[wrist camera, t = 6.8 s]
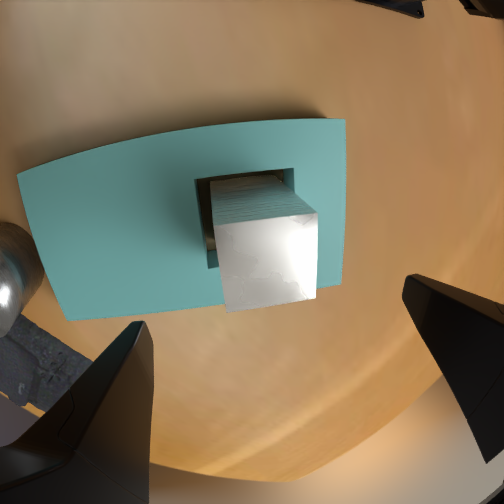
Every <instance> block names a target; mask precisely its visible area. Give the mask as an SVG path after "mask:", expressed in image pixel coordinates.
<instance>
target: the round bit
mask: <svg viewBox="0 0 504 504" xmlns="http://www.w3.org/2000/svg"><path fill="white" fill-rule="evenodd" d="M43 278H44V267H43V264H42V261H41V259H40V256H39V253H38V250H37V247H36V244H35V241H34V240H33V238H32V237H31V236H30V235H29V234H28V233H27V232H26V231H25V230H24V229H23V228H21V227H20V226H18V225H15V224H12V223H3V224H0V337H3V336H5V335H6V334H7V333H8V331H9V330H10V328H11V327H12V325H13V324H14V322H15V321H16V319H17V318H18V316H19V315H20V313H21V312H22V310H23V309H24V308H25V306H26V305H27V303H28V302H29V301H30V299H31V298H32V296H33V295H34V294H35V292H36V291H37V290H38V288H39V287H40V286H41V284H42V282H43Z"/></svg>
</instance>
